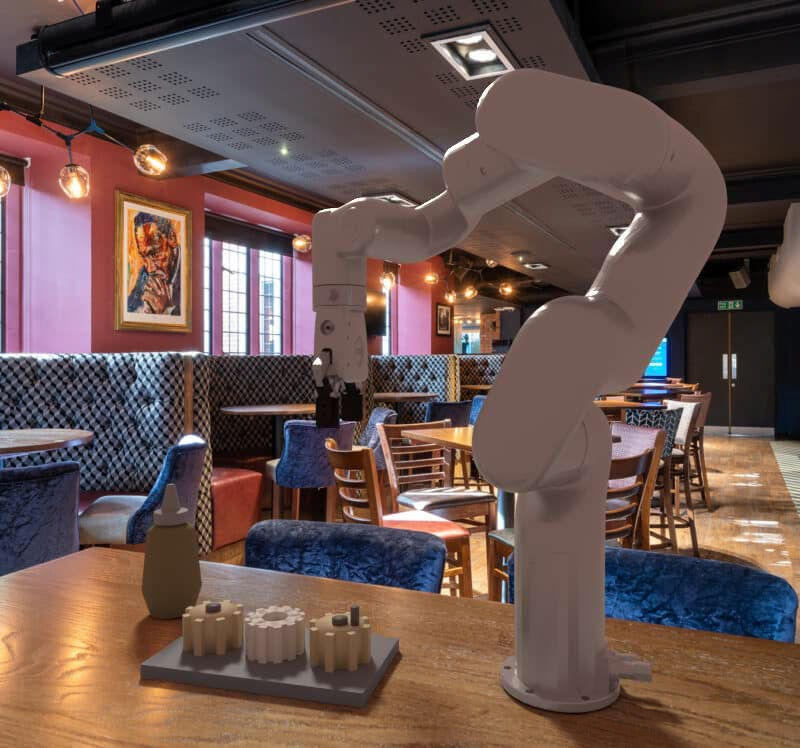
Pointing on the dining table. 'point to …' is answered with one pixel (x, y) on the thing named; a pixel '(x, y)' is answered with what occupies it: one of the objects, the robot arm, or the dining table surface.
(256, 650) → the cream idler gear
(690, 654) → the dining table surface
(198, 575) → the squeeze bottle
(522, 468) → the robot arm
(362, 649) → the gear board
